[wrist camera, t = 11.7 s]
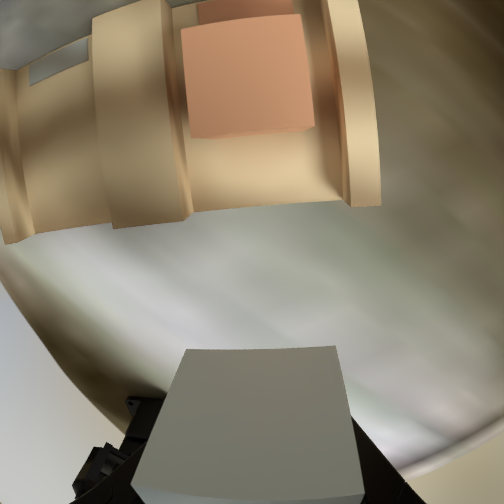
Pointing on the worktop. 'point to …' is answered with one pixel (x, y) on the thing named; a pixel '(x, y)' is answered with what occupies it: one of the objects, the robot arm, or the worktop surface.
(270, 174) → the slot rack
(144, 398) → the robot arm
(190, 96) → the terracotta block
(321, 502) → the blue-grey block
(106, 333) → the worktop surface
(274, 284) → the worktop surface
